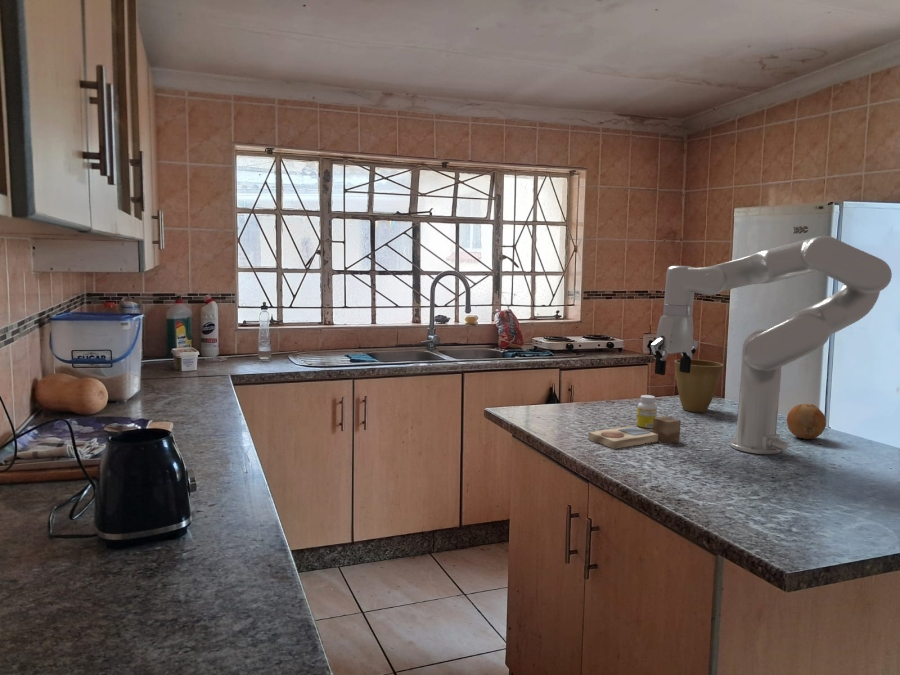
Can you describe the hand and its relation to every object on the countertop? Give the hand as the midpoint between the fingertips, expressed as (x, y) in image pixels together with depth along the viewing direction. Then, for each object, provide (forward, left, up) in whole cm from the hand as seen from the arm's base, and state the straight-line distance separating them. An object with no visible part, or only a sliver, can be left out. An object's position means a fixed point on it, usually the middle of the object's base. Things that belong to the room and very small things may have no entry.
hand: (672, 373), depth 184 cm
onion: (-17, -35, -19) cm, 44 cm away
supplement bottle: (+10, -1, -19) cm, 21 cm away
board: (+4, +14, -18) cm, 23 cm away
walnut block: (-1, +3, -18) cm, 19 cm away
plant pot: (+21, -35, -19) cm, 45 cm away
